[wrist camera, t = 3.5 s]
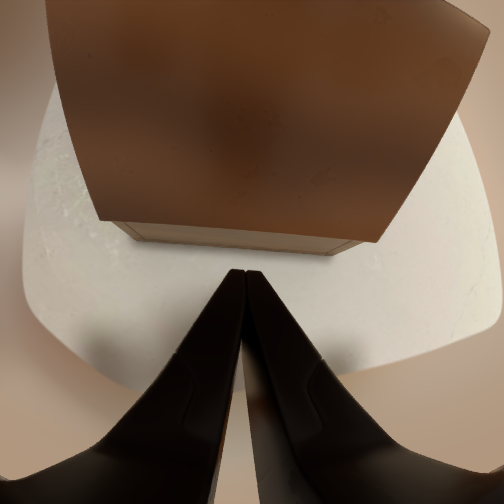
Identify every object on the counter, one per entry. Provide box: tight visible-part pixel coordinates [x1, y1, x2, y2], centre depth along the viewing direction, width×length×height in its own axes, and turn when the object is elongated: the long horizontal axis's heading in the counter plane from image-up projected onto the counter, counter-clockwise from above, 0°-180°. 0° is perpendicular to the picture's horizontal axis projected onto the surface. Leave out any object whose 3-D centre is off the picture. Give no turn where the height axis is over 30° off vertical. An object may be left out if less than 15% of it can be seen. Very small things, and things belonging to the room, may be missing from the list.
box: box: [111, 221, 363, 256], centre depth 18 cm, size 11×14×6 cm
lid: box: [45, 0, 490, 243], centre depth 9 cm, size 12×14×1 cm
